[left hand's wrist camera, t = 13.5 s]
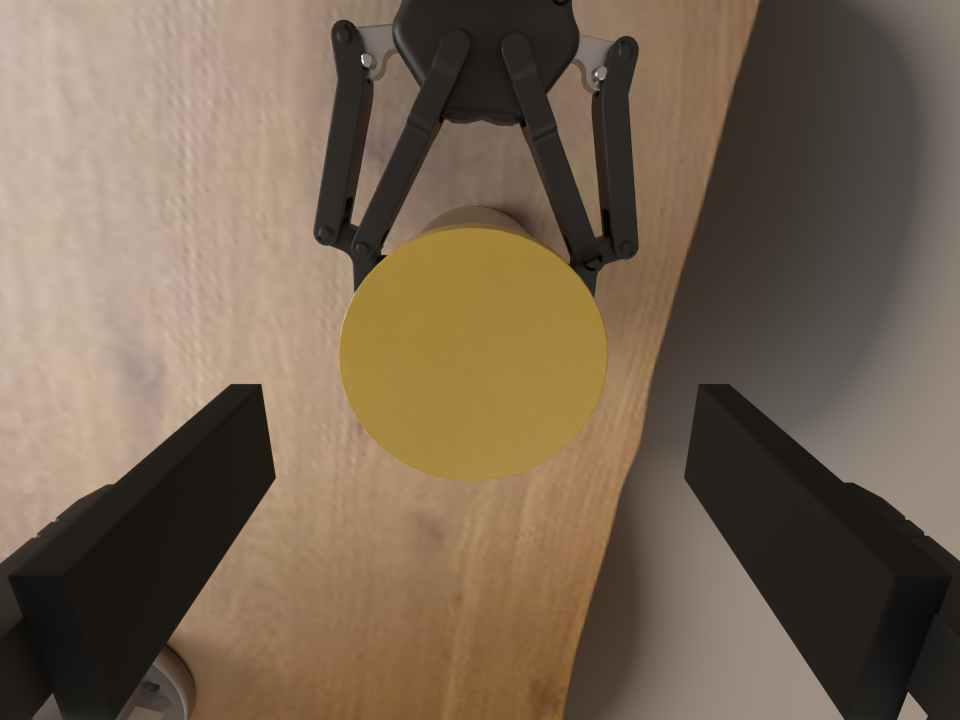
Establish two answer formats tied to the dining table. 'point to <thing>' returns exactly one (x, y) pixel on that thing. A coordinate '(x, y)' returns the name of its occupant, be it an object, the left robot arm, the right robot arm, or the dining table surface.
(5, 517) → the dining table surface
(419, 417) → the lid
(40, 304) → the dining table surface
